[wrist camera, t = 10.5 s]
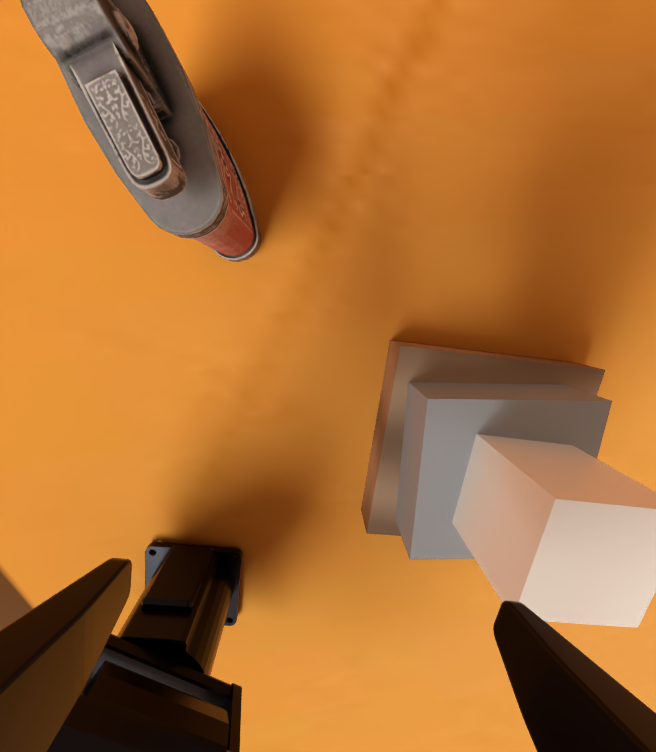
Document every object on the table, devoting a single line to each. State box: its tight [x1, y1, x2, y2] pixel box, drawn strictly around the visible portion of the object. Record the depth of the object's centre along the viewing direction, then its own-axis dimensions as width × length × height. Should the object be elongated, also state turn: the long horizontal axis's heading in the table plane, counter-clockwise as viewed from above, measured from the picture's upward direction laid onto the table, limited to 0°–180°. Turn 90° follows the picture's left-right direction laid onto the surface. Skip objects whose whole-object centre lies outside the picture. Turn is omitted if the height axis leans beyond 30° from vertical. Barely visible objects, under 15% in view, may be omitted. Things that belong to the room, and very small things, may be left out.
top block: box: [395, 382, 612, 560], centre depth 17 cm, size 9×9×3 cm
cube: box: [452, 434, 656, 628], centre depth 13 cm, size 5×5×5 cm
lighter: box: [21, 0, 261, 262], centre depth 12 cm, size 8×3×10 cm, turn 23°
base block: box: [361, 340, 605, 536], centre depth 20 cm, size 12×12×3 cm
